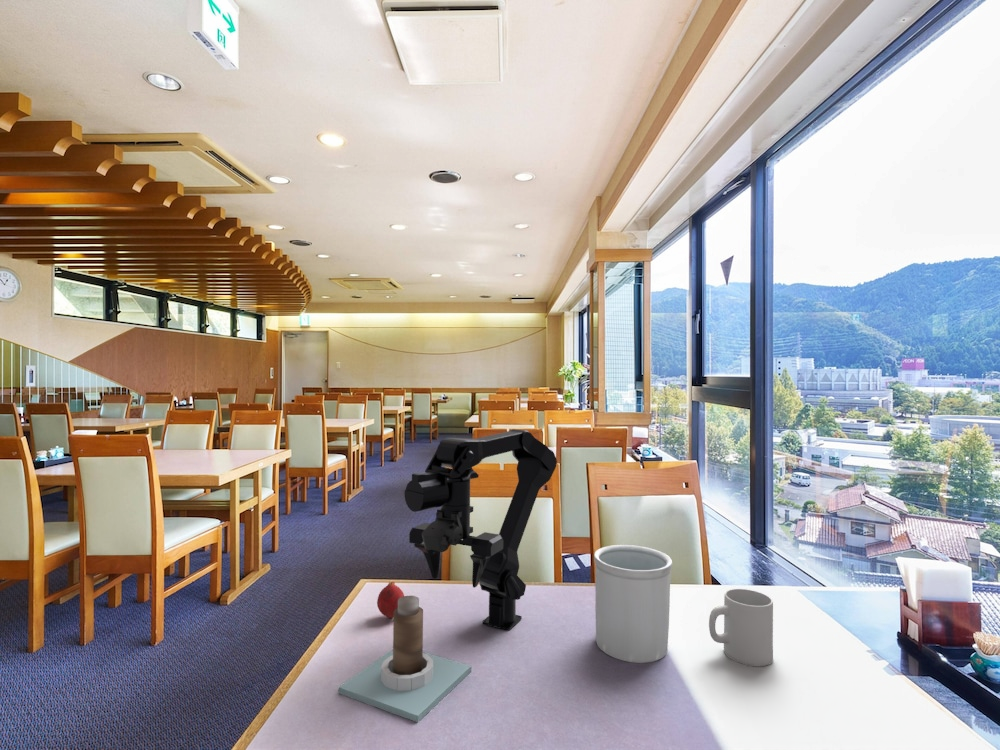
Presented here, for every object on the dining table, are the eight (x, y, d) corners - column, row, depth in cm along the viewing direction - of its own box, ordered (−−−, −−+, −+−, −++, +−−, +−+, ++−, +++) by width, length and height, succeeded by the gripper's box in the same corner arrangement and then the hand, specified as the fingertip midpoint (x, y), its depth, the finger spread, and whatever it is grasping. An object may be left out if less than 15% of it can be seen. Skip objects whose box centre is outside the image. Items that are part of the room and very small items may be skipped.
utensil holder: (682, 666, 98) (683, 569, 98) (601, 665, 98) (602, 569, 98) (658, 628, 113) (658, 544, 113) (587, 627, 113) (588, 544, 113)
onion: (398, 625, 113) (398, 587, 113) (372, 622, 114) (372, 585, 114) (408, 613, 118) (408, 577, 119) (383, 611, 120) (384, 575, 120)
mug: (755, 642, 107) (755, 587, 107) (783, 665, 99) (783, 605, 99) (698, 646, 106) (698, 590, 106) (721, 669, 97) (722, 608, 97)
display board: (398, 649, 103) (399, 634, 103) (471, 671, 95) (471, 654, 95) (338, 693, 89) (338, 674, 89) (417, 722, 81) (418, 702, 81)
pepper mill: (418, 665, 95) (419, 592, 95) (425, 680, 91) (426, 603, 91) (390, 671, 93) (391, 596, 94) (395, 686, 89) (396, 607, 89)
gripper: (391, 505, 103) (390, 587, 102) (476, 518, 94) (475, 607, 94) (425, 494, 112) (424, 569, 112) (505, 505, 104) (504, 586, 104)
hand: (454, 582), depth 105 cm, fingers open, 9 cm apart
